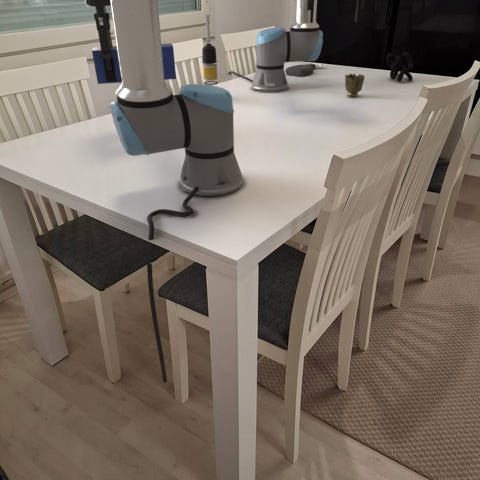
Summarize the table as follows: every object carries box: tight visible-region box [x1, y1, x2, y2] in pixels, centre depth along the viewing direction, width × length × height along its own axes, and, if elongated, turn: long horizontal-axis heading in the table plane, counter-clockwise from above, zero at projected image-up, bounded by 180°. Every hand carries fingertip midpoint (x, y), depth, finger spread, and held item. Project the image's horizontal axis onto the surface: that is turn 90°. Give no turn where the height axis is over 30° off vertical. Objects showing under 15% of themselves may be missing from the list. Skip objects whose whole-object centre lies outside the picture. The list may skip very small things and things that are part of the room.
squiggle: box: [385, 51, 414, 83], centre depth 198 cm, size 11×10×15 cm
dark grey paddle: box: [284, 62, 327, 77], centre depth 219 cm, size 3×11×24 cm
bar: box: [91, 43, 177, 85], centre depth 131 cm, size 23×6×9 cm, turn 101°
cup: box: [344, 73, 365, 98], centre depth 176 cm, size 8×7×8 cm
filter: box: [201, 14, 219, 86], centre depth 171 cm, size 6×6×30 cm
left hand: (112, 78), depth 132 cm, fingers closed on bar, 5 cm apart
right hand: (333, 22), depth 135 cm, fingers open, 13 cm apart
